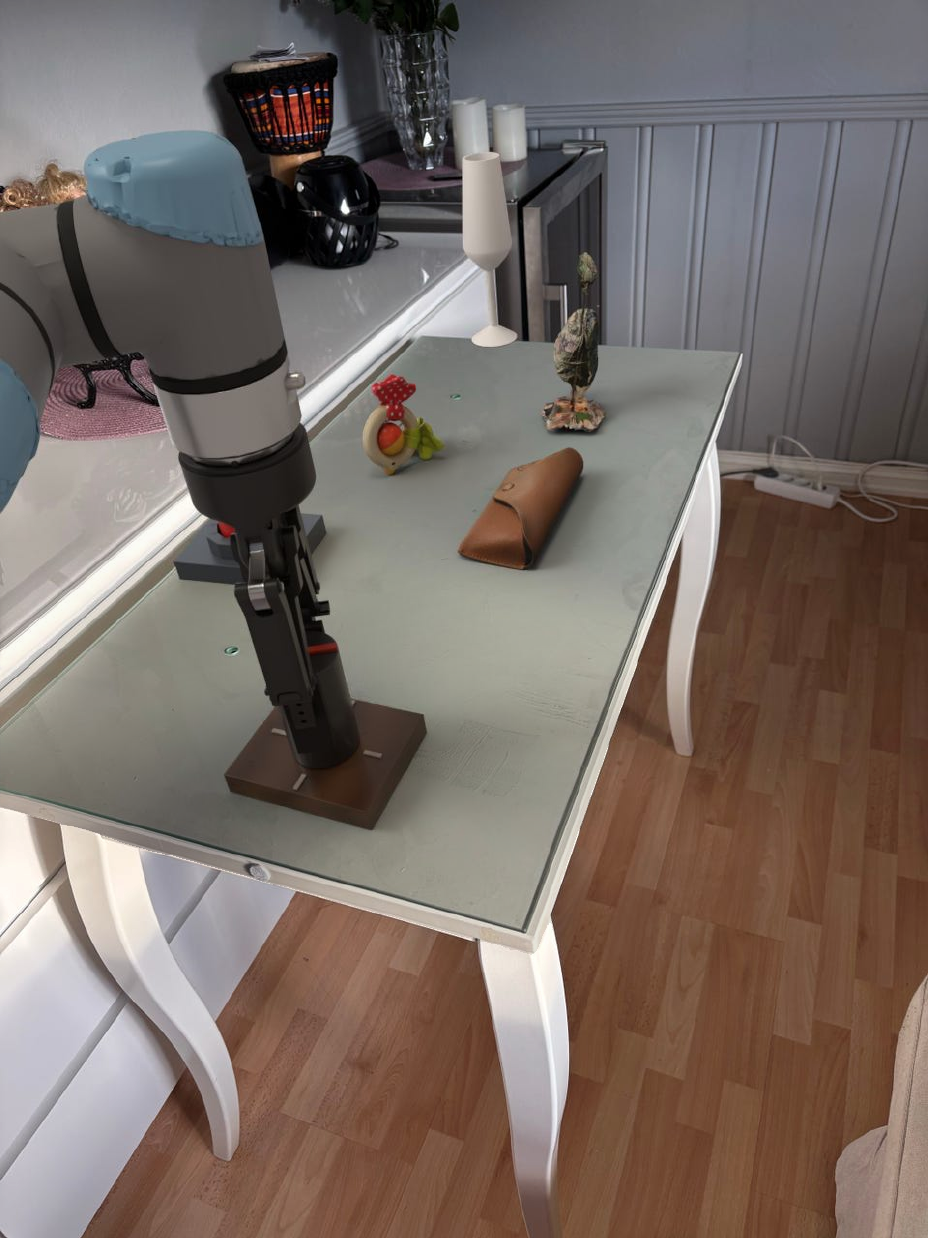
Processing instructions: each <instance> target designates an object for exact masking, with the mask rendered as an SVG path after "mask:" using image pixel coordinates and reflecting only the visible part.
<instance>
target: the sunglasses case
mask: <svg viewBox="0 0 928 1238" xmlns="http://www.w3.org/2000/svg"><path fill="white" fill-rule="evenodd" d="M583 470H584V459H583V457H582V456H581V454H580V452H579V451H578V450H577V449H575V448H573V447H566V448H562V449H561V450H558V451H556V452H554V453H552V454H550V455H549V454H548V456H546V457H544V458H542V459H539V460H535V461H532V462H528V463H525V464H522V465H519V466H515V467H513V468H511V469H510V470H509V471H508V473H506V476H505V477H504V479H503V480H502V482H501V483H500V484H499V486H498V487H497V489H496V490H495V492H494V493H493V495H492V497H491V499H490V500H489V501H488V503H487V505H486V506H485V507H484V509H483V510H482V512H481V513H480V515H479V516H478V518H477V519H476V520H475V521H474V523H473V525H472V526H471V528H470V529H469V530H468V532H467V533H466V535H465V536H464V537H463V539H462V541H461V542H460V544H459V546H458V549H457V553H458V554H459V555H460V556H462V557H463V558H465V559H466V558H467V559H470V560H473V561H477V562H480V563H484V564H487V565H494V566H499V567H503V568H509V569H513V570H521V571H523V570H525V569H528V568H530V567H531V566H532V565H533V564H535V562H536V561H537V559H538V557H539V555H540V553H541V552H542V549H543V547H544V546H545V543H546V541H547V539H548V537H549V535H550V533H551V531H552V529H553V527H554V526H555V523H556V521H557V519H558V517H559V515H560V514H561V512H562V510H563V508H564V506H565V504H566V502H567V500H568V498H569V497H570V495H571V493H572V491H573V489H574V487H575V486H576V484H577V483H578V480H579V479H580V477H581V475H582V473H583Z"/></svg>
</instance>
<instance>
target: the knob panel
mask: <svg viewBox="0 0 928 1238" xmlns="http://www.w3.org/2000/svg"><path fill="white" fill-rule="evenodd" d="M351 702H352V706H353V710H354V715H355V719H356V723H357V727H358V731H359V736H360V740H359V744H358V747H357V749H356V751H355V752H354V753H353V754H352V755H351V756H350V757H349V758H348V759H347V760H345V761H344V762H342V763H340V764H338V765H336V766H333V767H329V768H324V769H314V768H309V767H305V766H303V765H301V764H300V763H298V762H297V761H296V760H295V758H294V757H293V755H292V752H291V748H290V745H289V742H288V739H287V736H286V732H285V729H284V726H283V723H282V720H281V717H280V713H279V710H278V707H277V706H274V707H273V708H272V710H271V711H270V712H269V714H268V715H267V716H266V718H265V719H264V720H263V722H262V723H261V724H260V726H259V727H258V728H257V730H256V731H255V733H254V734H253V735H252V736H251V738H250V739H249V741H248V742H246V744H245V745H244V747H243V748H242V750H241V751H240V752H239V754H238V755H237V757H235V759H234V760H233V762H232V763H231V764H230V765H229V767H228V768H227V770H226V771H225V773H224V774H223V776H224V778H225V779H224V780H225V781H226V784H227V786H228V789H229V792H230V793H234V794H237V795H241V796H245V797H248V798H251V799H255V800H258V801H262V802H267V803H270V804H273V805H277V806H281V807H285V808H288V809H292V810H296V811H300V812H303V813H306V814H307V813H308V814H309V815H310V814H311V815H314V816H319V817H322V818H326V819H328V820H333V821H337V822H340V823H344V824H348V825H350V826H355V827H359V828H362V829H366V830H370V831H372V830H373V829H374V828H375V825H376V823H377V822H378V820H379V818H380V817H381V815H382V812H383V811H384V809H385V807H386V805H387V804H388V802H389V800H390V799H391V797H392V795H393V793H394V792H395V789H396V787H397V786H398V785H399V782H400V780H401V779H402V777H403V776H404V774H405V771H406V770H407V768H408V767H409V764H410V763H411V761H412V760H413V758H414V756H415V754H416V752H417V751H418V748H419V747H420V745H421V743H422V742H423V740H424V738H425V736H426V734H427V732H428V731H427V725H426V718H425V715H424V714H423V713H419V712H415V711H410V710H405V709H401V708H397V707H396V708H395V707H392V706H387V705H383V704H378V703H373V702H368V701H363V700H359V699H355V698H351Z"/></svg>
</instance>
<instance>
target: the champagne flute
mask: <svg viewBox="0 0 928 1238" xmlns="http://www.w3.org/2000/svg"><path fill="white" fill-rule="evenodd" d="M512 246H513V239H512V232H511V225H510V219H509V212H508V205H507V199H506V192H505V185H504V177H503V171H502V164H501V158H500V154H499V153H498V152H495V151H483V152H482V151H481V152H475V153H474V152H473V153H470V154H466V155H465V156H463V157H462V249H463V252H464V254H465V255H466V257H467V258H468V259H469V261H471V262H472V263H473V264H474V265H476V266H477V267H478V268H479V269H481V270H483V271H484V274H485V275H484V276H485V285H486V300H487V312H488V314H487V315H488V325H487V326H485V327H484V328H482V329H481V330H480V331H478V332H476V333H475V334H474V335H473V336H472V337H471V342H472V343H473V344H474V345H475V346H477V347H478V346H479V347H484V348H497V347H502V346H506V345H509V344H511V343H513V342H515V341H516V340H517V339H518V333H517V332H515V331H514V330H512V329H509V328H507V327H506V326H502V325H500V324H498V312H497V300H496V299H497V297H496V284H495V271H494V270H495V269H497V268H498V267H499V266H500V265H501V264H502V263H503V262H504V261H505V259H506V258H507V257H508V255H509V253H510V251H511V249H512Z"/></svg>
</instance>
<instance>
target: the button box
mask: <svg viewBox="0 0 928 1238" xmlns="http://www.w3.org/2000/svg"><path fill="white" fill-rule="evenodd" d="M301 516H302V520H303V524H304V528H305V532H306V536H307V540H308V544H309V548H310V552H311V555H312V554H313V552H314V551H315V549H316V548H317V547H318V545H319V544H320V542H321V541H322V539H323V538H324V536H325V534H327V529H326V526H325V520H324V516H323V514H317V513H304V512H301ZM172 562H173V565H174V568H175V570H176V574H177V576H178V578H179V579H180V580H189V581H197V582H198V581H199V582H209V583H219V584H230V585H235V584H236V583H240V582H243V579H242V574H241V570H240V566H239V564H238V563H237V562H236V561H235V560H234V558H233V553H232V549H231V544H230V538H227V537H225V536H224V535H223V534H222V533H221V530H220V527H219V524H218V521H215V520H212V519H210V518H208V520H207V521H206V522H205V524H204V525H203V526H202V527H201V528H200V530H198V531H197V533H196V534H195V535H194V536H193V538H191V540H190V541H189V542H188V543H187V545H185V547H184V548H183V549H182V550H181V552H180V553H179V554H178V555H177V556H176V557H175V559H174V560H173V561H172Z"/></svg>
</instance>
